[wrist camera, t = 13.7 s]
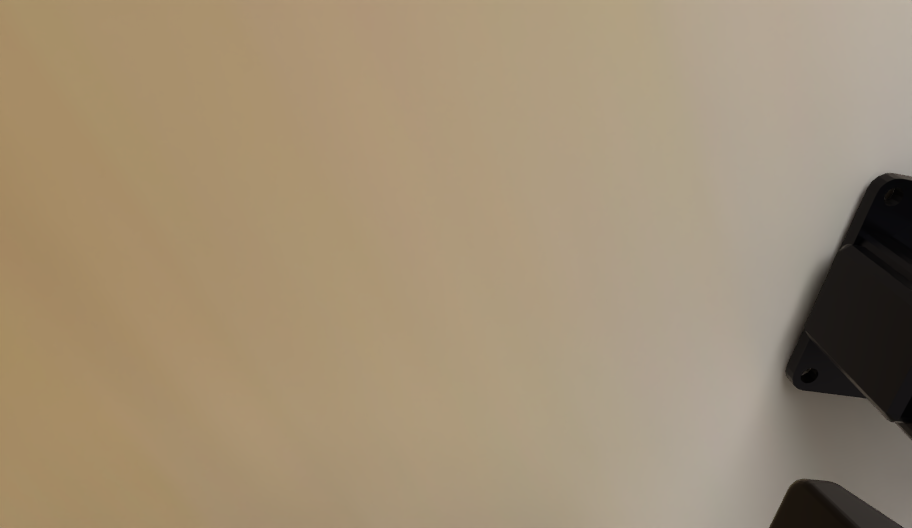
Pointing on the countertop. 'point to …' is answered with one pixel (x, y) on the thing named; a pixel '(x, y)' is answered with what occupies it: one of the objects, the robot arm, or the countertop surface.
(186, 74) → the countertop surface
